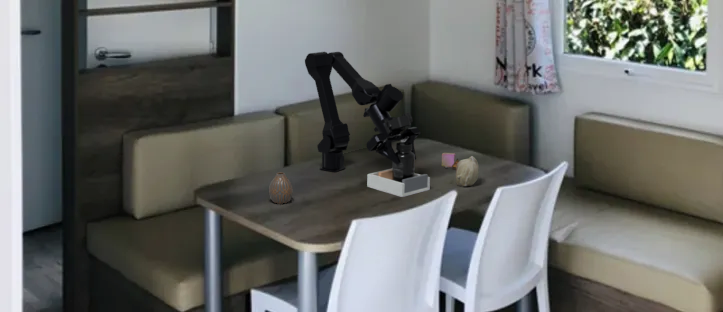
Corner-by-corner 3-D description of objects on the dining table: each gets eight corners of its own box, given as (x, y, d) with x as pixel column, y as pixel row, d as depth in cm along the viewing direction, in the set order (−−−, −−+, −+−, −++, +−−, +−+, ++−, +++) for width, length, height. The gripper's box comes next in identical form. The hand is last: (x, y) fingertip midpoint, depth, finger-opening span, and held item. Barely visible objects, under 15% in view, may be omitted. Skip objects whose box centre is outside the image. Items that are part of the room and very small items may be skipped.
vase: (279, 197, 289) (278, 169, 287) (297, 201, 285) (297, 172, 283) (264, 203, 283) (263, 174, 281) (282, 207, 280) (282, 177, 278)
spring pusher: (373, 182, 301) (374, 171, 300) (394, 177, 307) (394, 166, 306) (381, 184, 299) (381, 173, 298) (401, 179, 304) (401, 168, 304)
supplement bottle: (418, 183, 296) (419, 145, 293) (398, 185, 293) (399, 147, 290) (407, 177, 302) (408, 140, 299) (388, 180, 299) (388, 142, 296)
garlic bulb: (467, 188, 308) (472, 158, 309) (484, 190, 301) (490, 159, 302) (444, 183, 303) (450, 152, 304) (461, 185, 296) (466, 153, 297)
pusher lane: (367, 186, 301) (367, 171, 300) (394, 179, 309) (395, 164, 308) (402, 197, 290) (402, 180, 289) (429, 189, 298) (429, 174, 297)
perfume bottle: (435, 170, 323) (435, 157, 322) (443, 161, 334) (443, 149, 333) (470, 173, 319) (471, 159, 318) (477, 164, 330) (477, 151, 329)
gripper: (373, 109, 288) (398, 152, 283) (417, 101, 301) (442, 142, 296) (355, 130, 296) (379, 172, 291) (398, 121, 308) (422, 162, 303)
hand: (406, 161), depth 295 cm, fingers closed on supplement bottle, 7 cm apart
